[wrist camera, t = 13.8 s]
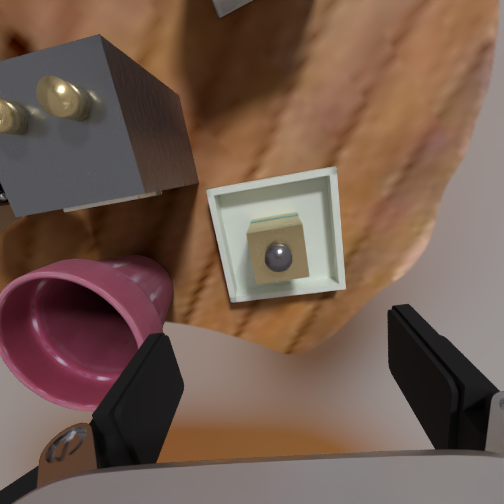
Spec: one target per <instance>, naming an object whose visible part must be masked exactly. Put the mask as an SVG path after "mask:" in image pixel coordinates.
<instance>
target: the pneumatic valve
mask: <svg viewBox="0 0 504 504" xmlns="http://www.w3.org/2000/svg"><path fill="white" fill-rule="evenodd" d="M23 217H24V216H21V217H15V214H14V212H13V210H12V208H11V205H10V203H9V201H8V198H7V196H6V194H5V192H4V189H3V187H2V185H1V183H0V233H1V232H2V231H4V230H5V229H7V228H8V227H9V226H11V225H12V224H14V223H15V222H17V221H18V220H20V219H21V218H23Z"/></svg>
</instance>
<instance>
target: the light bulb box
mask: <svg viewBox="0 0 504 504" xmlns="http://www.w3.org/2000/svg"><path fill="white" fill-rule="evenodd" d="M212 1H213V4H214V7H215V9H216V12H217V15H218V18H221V17H223V16H225V15H227V14H228V13H230V12H232V11H234V10H236V9H238V8H240V7H241V6H243V5H245V4H247V3H249V2H251V1H253V0H212Z"/></svg>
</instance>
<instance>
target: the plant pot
mask: <svg viewBox="0 0 504 504" xmlns="http://www.w3.org/2000/svg"><path fill="white" fill-rule="evenodd" d="M172 298H173V285H172V281H171V279H170V277H169V275H168V273H167V272H166V270H165V269H164V268H163V267H162V266H161V265H160V264H159V263H158V262H156V261H154V260H153V259H151V258H148V257H146V256H142V255H126V256H121V257H115V258H109V259H104V260H99V261H93V260H88V259H67V260H62V261H58V262H55V263H52V264H49V265H47V266H44V267H41V268H39V269H36V270H34V271H31V272H29V273H27V274H25V275H23V276H21V277H19V278H17V279H15V280H13V281H12V282H11V283H9V284H8V285H7V286H6V287H5V288H4V289H3V291H2V292H1V293H0V355H1V357H2V359H3V361H4V362H5V364H6V365H7V367H8V368H9V369H10V371H11V372H12V373H13V374H14V375H15V376H16V378H17V379H18V380H19V381H20V382H22V383H23V384H24V385H25V386H26V387H27V388H29V389H30V390H32V391H33V392H34V393H36V394H37V395H39V396H41V397H42V398H44V399H46V400H48V401H50V402H52V403H54V404H57V405H60V406H63V407H66V408H69V409H74V410H80V411H95V410H96V408H97V407H98V406H99V404H100V403H101V401H102V400H103V399H104V397H105V396H106V394H107V393H108V391H109V390H110V389H111V387H112V386H113V384H114V383H115V382H116V380H117V379H118V377H119V376H120V375H121V373H122V372H123V370H124V369H125V368H126V366H127V365H128V363H129V362H130V360H131V359H132V358H133V356H134V355H135V353H136V352H137V351H138V349H139V348H140V346H141V345H142V344H143V342H144V341H145V339H146V338H147V336H148V335H149V334H154V333H163V330H162V328H163V325H164V322H165V319H166V316H167V313H168V310H169V307H170V304H171V301H172Z"/></svg>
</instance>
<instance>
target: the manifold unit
mask: <svg viewBox="0 0 504 504" xmlns="http://www.w3.org/2000/svg"><path fill="white" fill-rule="evenodd" d="M0 183H1V185H2V187H3V189H4V192H5V194H6V196H7V198H8V201H9V203H10V205H11V208H12V210H13V212H14V214H15V217H21V216H26V215H32V214H37V213H43V212H48V211H53V210H59V209H63V210H64V212H69V211H74V210H80V209H85V208H91V207H96V206H102V205H108V204H113V203H119V202H124V201H130V200H135V199H140V198H146V197H151V196H157V195H161V194H162V191H161V190H166V189H172V188H177V187H182V186H187V185H192V184H197V183H199V181H198V177H197V173H196V168H195V164H194V159H193V155H192V151H191V146H190V142H189V138H188V133H187V129H186V124H185V120H184V116H183V111H182V107H181V102H180V98H179V95H178V94H177V93H175V92H174V91H173V90H171V89H170V88H169V87H167V86H166V85H165V84H164V83H162V82H161V81H160V80H158V79H157V78H156V77H154V76H153V75H152V74H150V73H149V72H148V71H147V70H145V69H144V68H143V67H141V66H140V65H139V64H137V63H136V62H135V61H134V60H132V59H131V58H130V57H128V56H127V55H126V54H124V53H123V52H122V51H120V50H119V49H118V48H117V47H115V46H114V45H113V44H111V43H110V42H109V41H107V40H106V39H105V38H104V37H102V36H101V35H100V34H98V35H94V36H91V37H87V38H83V39H80V40H76V41H73V42H69V43H65V44H62V45H58V46H54V47H51V48H47V49H44V50H40V51H36V52H33V53H29V54H26V55H22V56H18V57H15V58H11V59H7V60H4V61H0Z"/></svg>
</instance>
